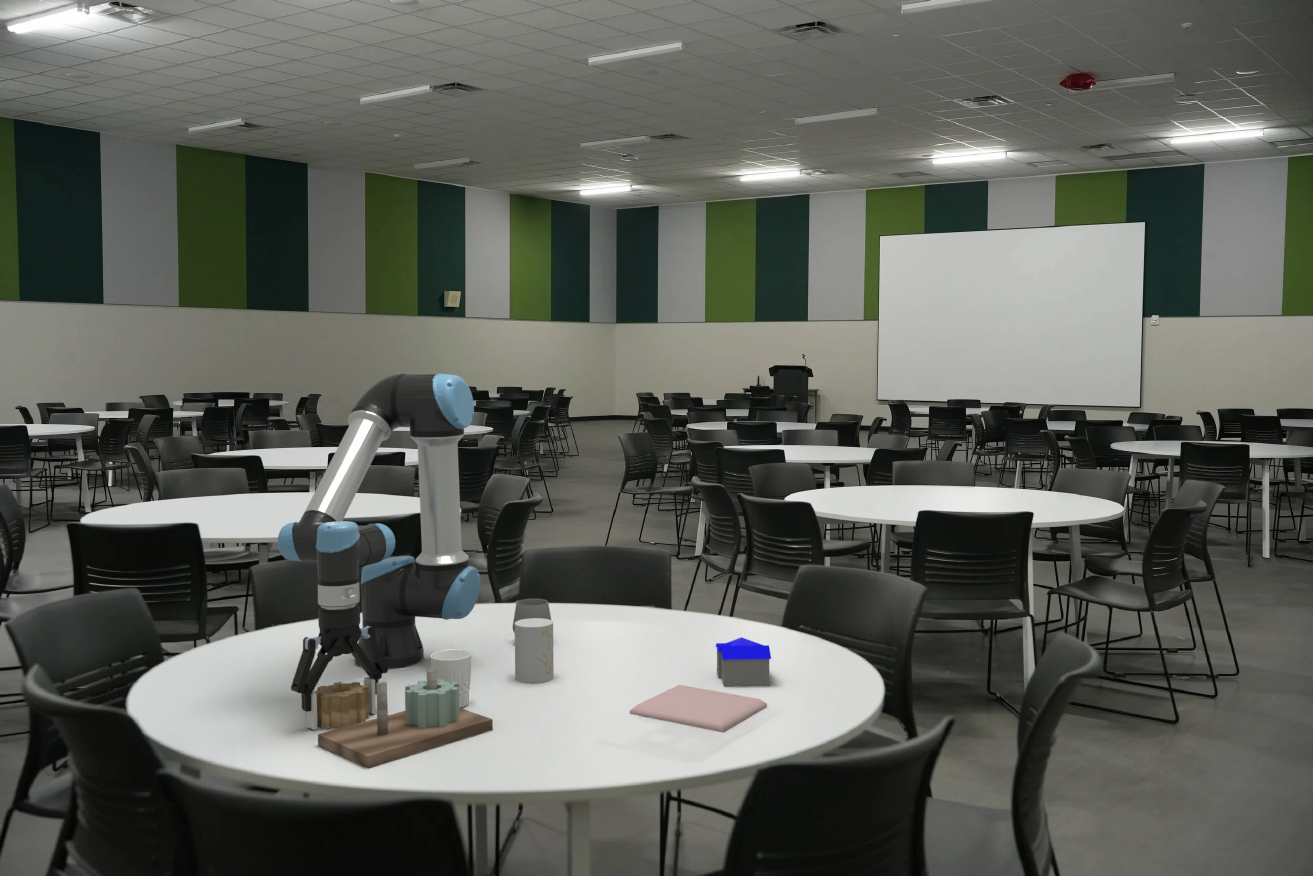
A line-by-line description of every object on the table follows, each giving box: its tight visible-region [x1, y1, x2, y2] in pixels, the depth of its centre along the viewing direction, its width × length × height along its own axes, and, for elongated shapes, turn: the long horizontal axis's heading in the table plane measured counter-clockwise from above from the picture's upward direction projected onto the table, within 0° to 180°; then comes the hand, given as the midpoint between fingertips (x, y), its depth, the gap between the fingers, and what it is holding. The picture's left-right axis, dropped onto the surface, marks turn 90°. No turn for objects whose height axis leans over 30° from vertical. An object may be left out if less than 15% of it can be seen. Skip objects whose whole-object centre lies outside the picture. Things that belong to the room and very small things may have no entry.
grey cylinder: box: [514, 618, 555, 685], centre depth 233 cm, size 8×8×12 cm
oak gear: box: [313, 681, 370, 730], centre depth 206 cm, size 10×10×6 cm
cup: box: [512, 598, 552, 634], centre depth 263 cm, size 10×9×10 cm
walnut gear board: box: [317, 669, 494, 769], centre depth 196 cm, size 16×26×11 cm, turn 137°
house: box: [715, 637, 772, 688], centre depth 232 cm, size 10×11×8 cm
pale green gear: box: [404, 679, 459, 728], centre depth 200 cm, size 10×10×6 cm
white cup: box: [430, 648, 472, 709], centre depth 215 cm, size 8×8×10 cm
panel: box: [629, 684, 768, 733], centre depth 206 cm, size 35×33×2 cm
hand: (341, 719), depth 206 cm, fingers open, 12 cm apart
